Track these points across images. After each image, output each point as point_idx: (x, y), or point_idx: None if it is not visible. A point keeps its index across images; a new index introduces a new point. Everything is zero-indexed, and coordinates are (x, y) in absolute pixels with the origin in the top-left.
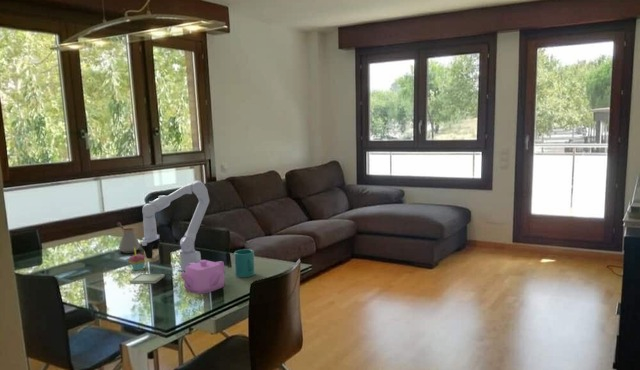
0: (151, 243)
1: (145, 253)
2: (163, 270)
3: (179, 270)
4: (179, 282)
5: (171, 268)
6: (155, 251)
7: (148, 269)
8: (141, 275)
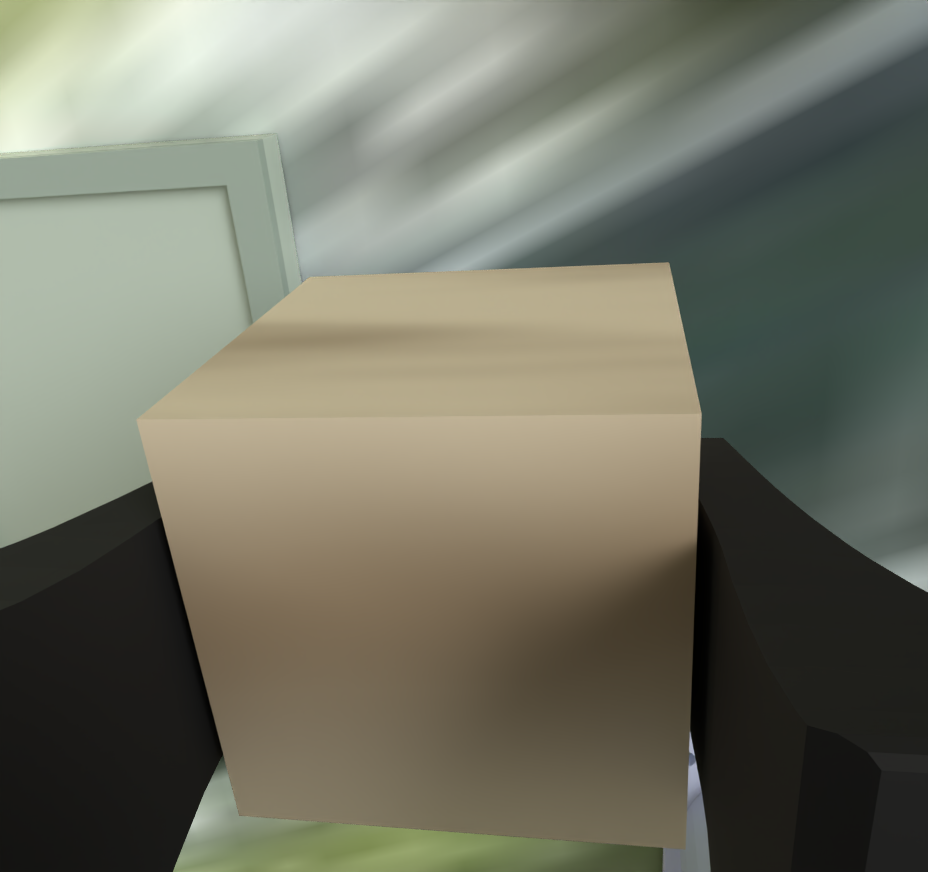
0: (752, 831)
1: (108, 504)
2: None
3: None
4: None
5: (871, 554)
6: (386, 797)
7: (829, 32)
8: (209, 211)
